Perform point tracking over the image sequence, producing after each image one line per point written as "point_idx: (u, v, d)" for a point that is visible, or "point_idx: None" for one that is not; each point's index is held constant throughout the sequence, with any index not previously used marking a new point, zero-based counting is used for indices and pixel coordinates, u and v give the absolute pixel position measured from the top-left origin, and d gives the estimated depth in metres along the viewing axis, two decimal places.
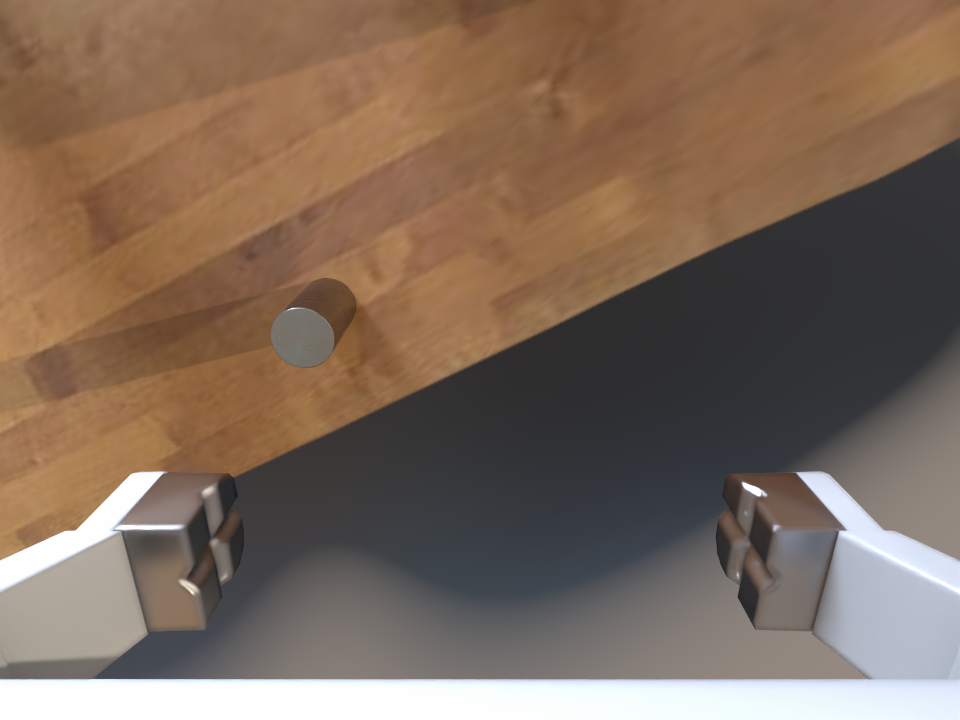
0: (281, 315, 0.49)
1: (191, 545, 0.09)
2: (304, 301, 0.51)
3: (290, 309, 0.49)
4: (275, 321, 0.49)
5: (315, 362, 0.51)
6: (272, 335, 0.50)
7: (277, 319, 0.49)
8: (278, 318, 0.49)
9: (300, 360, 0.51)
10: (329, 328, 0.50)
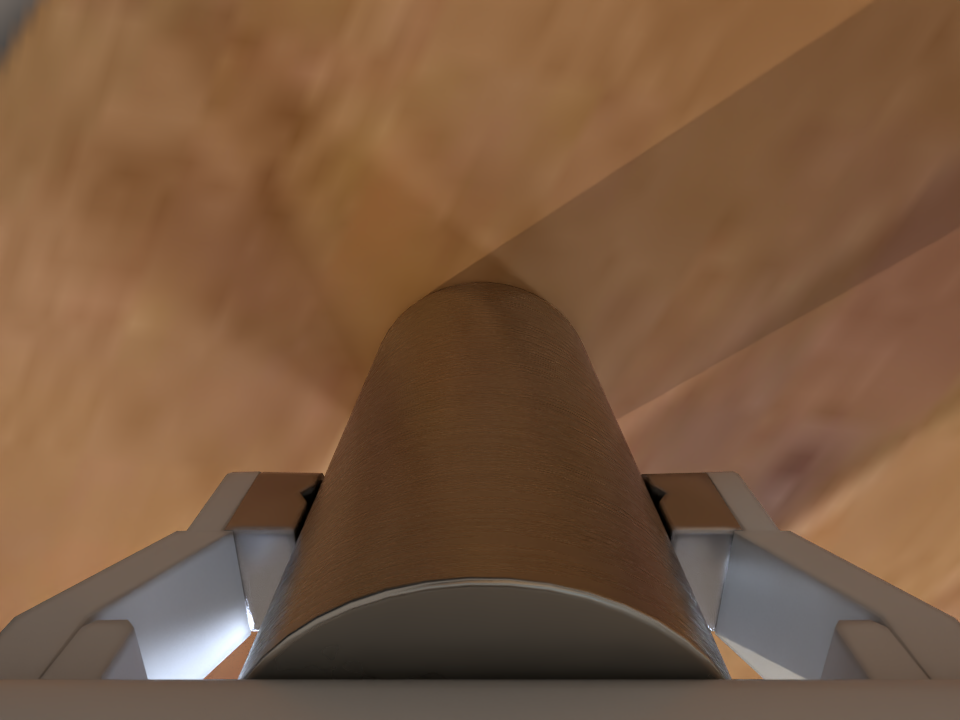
0: None
1: None
2: None
3: None
4: None
5: (311, 663, 0.05)
6: None
7: None
8: None
9: (451, 643, 0.05)
10: None
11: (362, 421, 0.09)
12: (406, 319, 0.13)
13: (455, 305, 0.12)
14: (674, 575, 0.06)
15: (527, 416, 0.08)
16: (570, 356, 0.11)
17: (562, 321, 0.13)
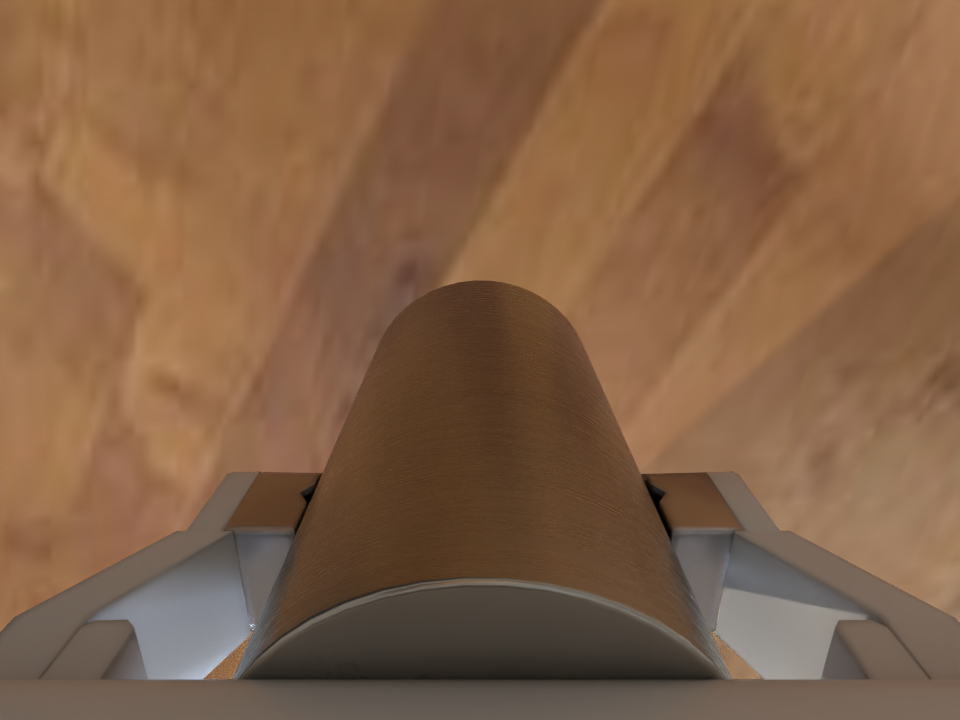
0: None
1: None
2: None
3: None
4: None
5: (305, 664, 0.05)
6: None
7: None
8: None
9: (447, 643, 0.05)
10: None
11: (359, 420, 0.09)
12: (404, 317, 0.13)
13: (453, 303, 0.12)
14: (674, 575, 0.06)
15: (526, 414, 0.08)
16: (569, 354, 0.11)
17: (561, 319, 0.13)
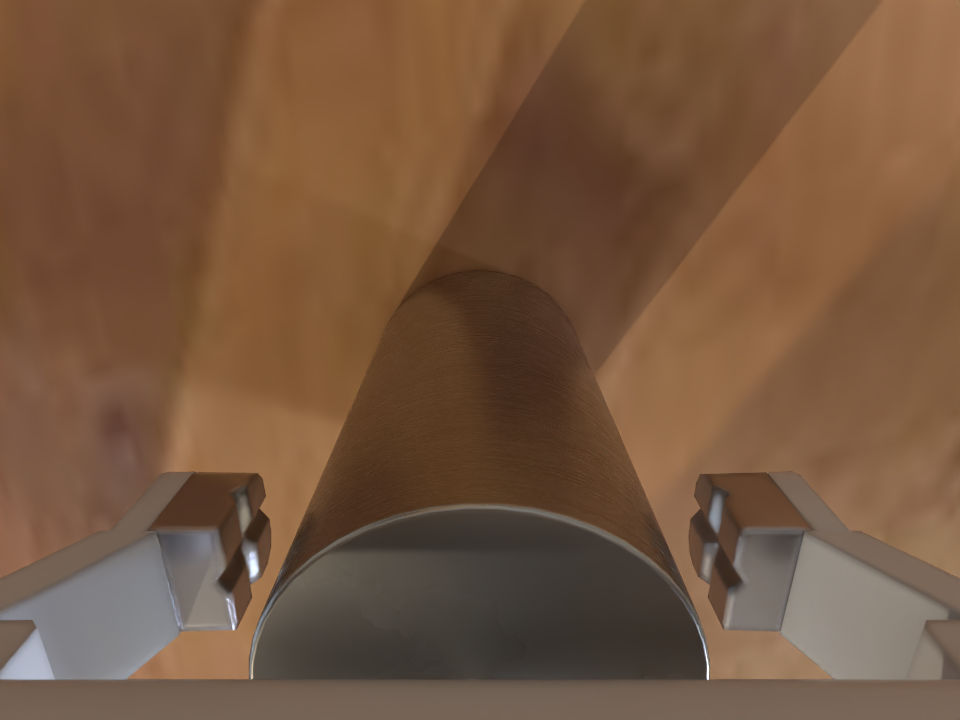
0: None
1: (224, 546, 0.09)
2: None
3: None
4: None
5: (332, 578, 0.06)
6: (694, 665, 0.07)
7: None
8: None
9: (450, 560, 0.06)
10: None
11: (370, 391, 0.10)
12: (409, 305, 0.14)
13: (454, 291, 0.13)
14: (643, 513, 0.07)
15: (518, 382, 0.09)
16: (560, 336, 0.12)
17: (554, 306, 0.14)
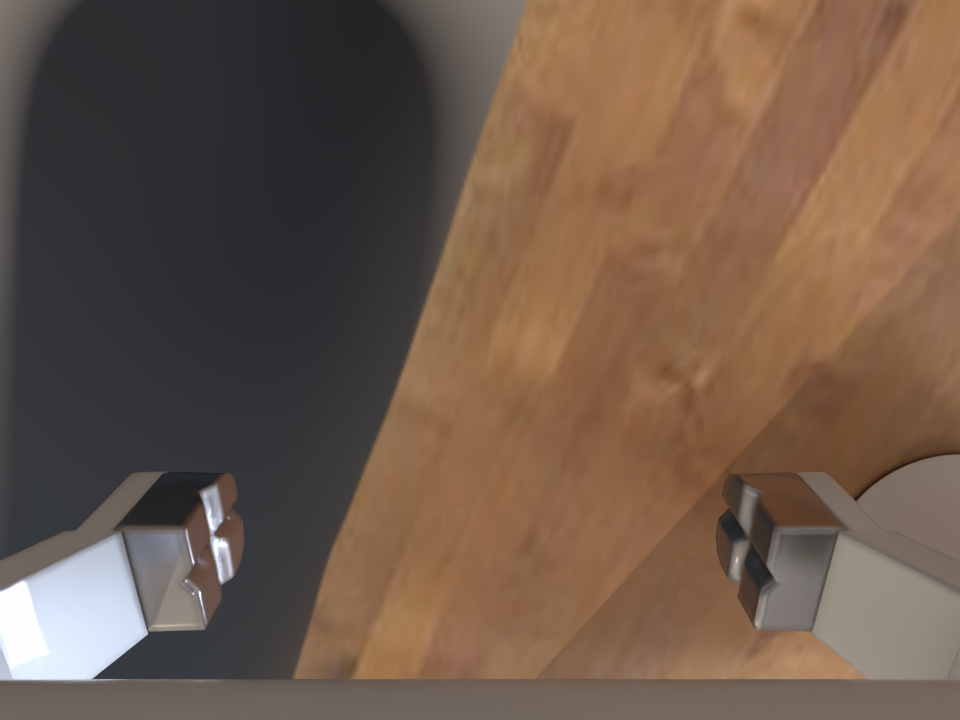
0: None
1: (191, 546, 0.09)
2: None
3: None
4: None
5: None
6: None
7: None
8: None
9: None
10: None
11: None
12: None
13: None
14: None
15: None
16: None
17: None
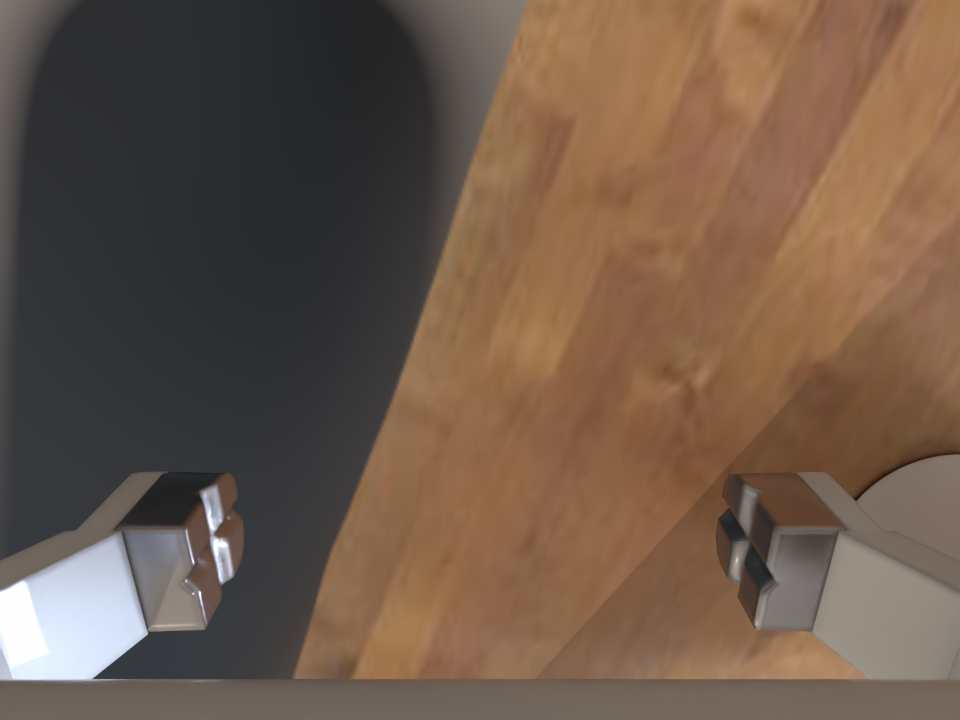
0: None
1: (191, 546, 0.09)
2: None
3: None
4: None
5: None
6: None
7: None
8: None
9: None
10: None
11: None
12: None
13: None
14: None
15: None
16: None
17: None
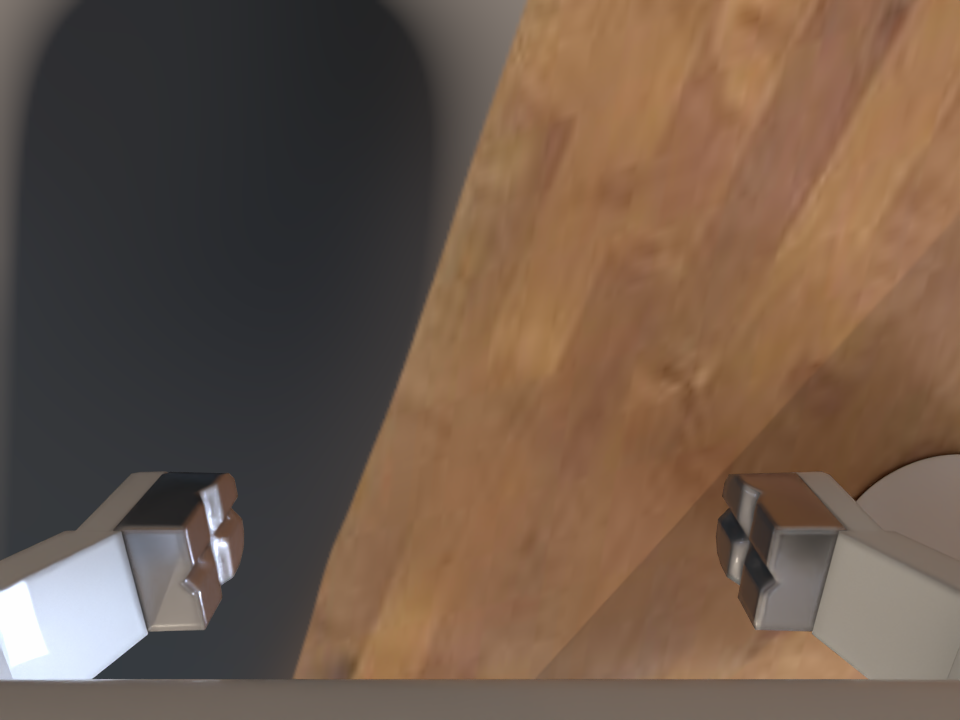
0: None
1: (191, 546, 0.09)
2: None
3: None
4: None
5: None
6: None
7: None
8: None
9: None
10: None
11: None
12: None
13: None
14: None
15: None
16: None
17: None
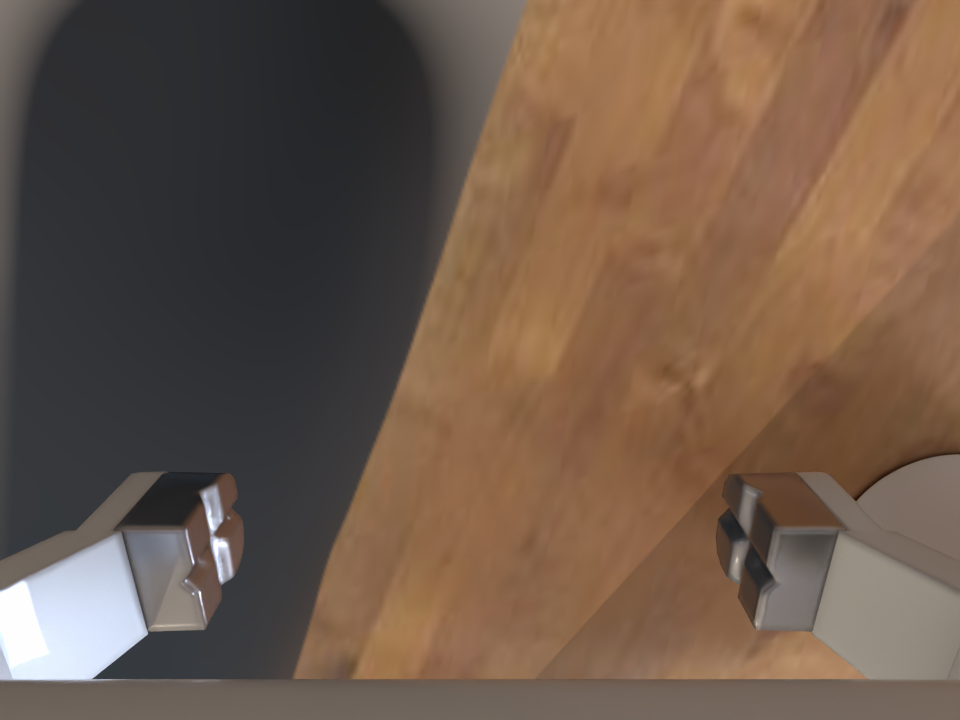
0: None
1: (191, 546, 0.09)
2: None
3: None
4: None
5: None
6: None
7: None
8: None
9: None
10: None
11: None
12: None
13: None
14: None
15: None
16: None
17: None
